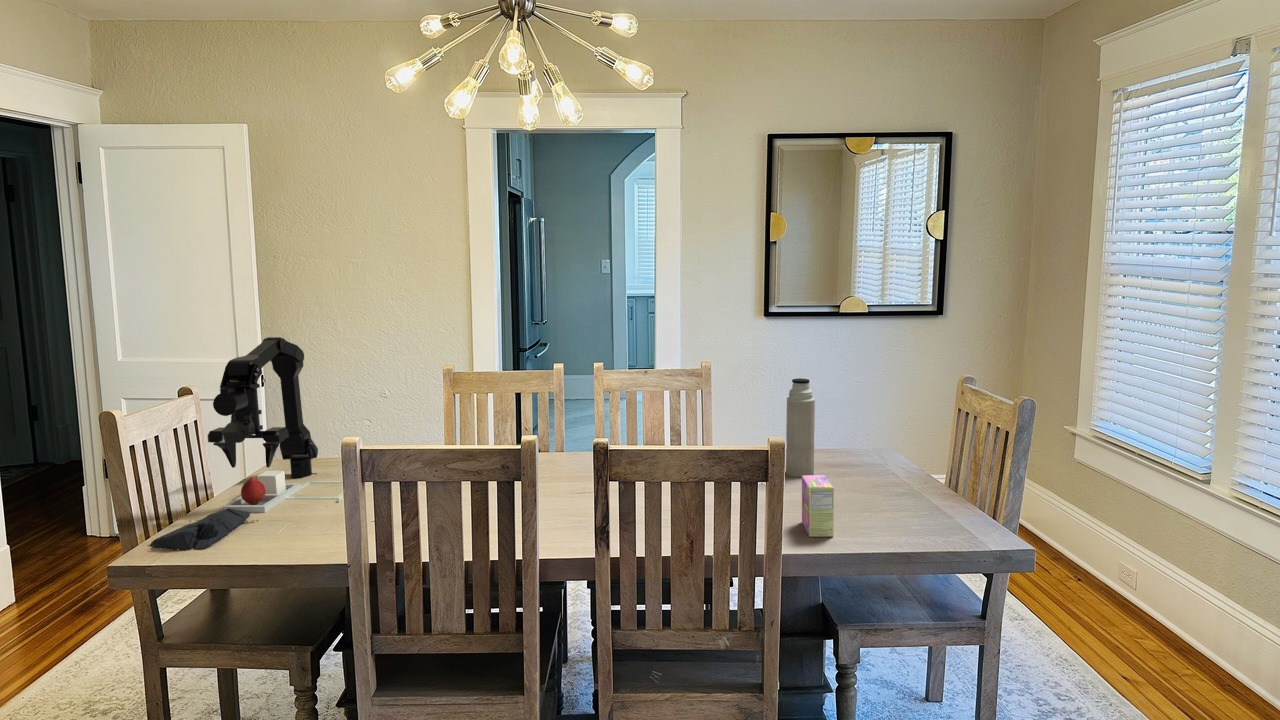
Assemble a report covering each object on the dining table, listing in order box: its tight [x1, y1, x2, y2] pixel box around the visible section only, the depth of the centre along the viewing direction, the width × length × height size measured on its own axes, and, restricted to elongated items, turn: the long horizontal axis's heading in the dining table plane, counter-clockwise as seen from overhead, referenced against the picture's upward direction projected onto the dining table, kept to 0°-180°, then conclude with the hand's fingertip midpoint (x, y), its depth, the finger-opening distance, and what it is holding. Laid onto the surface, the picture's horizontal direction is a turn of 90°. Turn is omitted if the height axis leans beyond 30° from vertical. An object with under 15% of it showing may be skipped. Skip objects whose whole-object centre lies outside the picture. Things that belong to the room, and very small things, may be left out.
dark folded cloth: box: [149, 508, 251, 551], centre depth 193 cm, size 15×22×5 cm
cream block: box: [256, 470, 286, 494], centre depth 219 cm, size 5×5×6 cm
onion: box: [240, 475, 266, 505], centre depth 210 cm, size 6×6×8 cm
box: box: [801, 474, 835, 538], centre depth 189 cm, size 10×6×12 cm, turn 178°
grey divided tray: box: [221, 483, 302, 514], centre depth 215 cm, size 20×11×2 cm, turn 177°
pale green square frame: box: [285, 480, 344, 503], centre depth 223 cm, size 16×16×1 cm
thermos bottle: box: [785, 378, 816, 478], centre depth 234 cm, size 8×8×28 cm
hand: (251, 467), depth 209 cm, fingers open, 9 cm apart
